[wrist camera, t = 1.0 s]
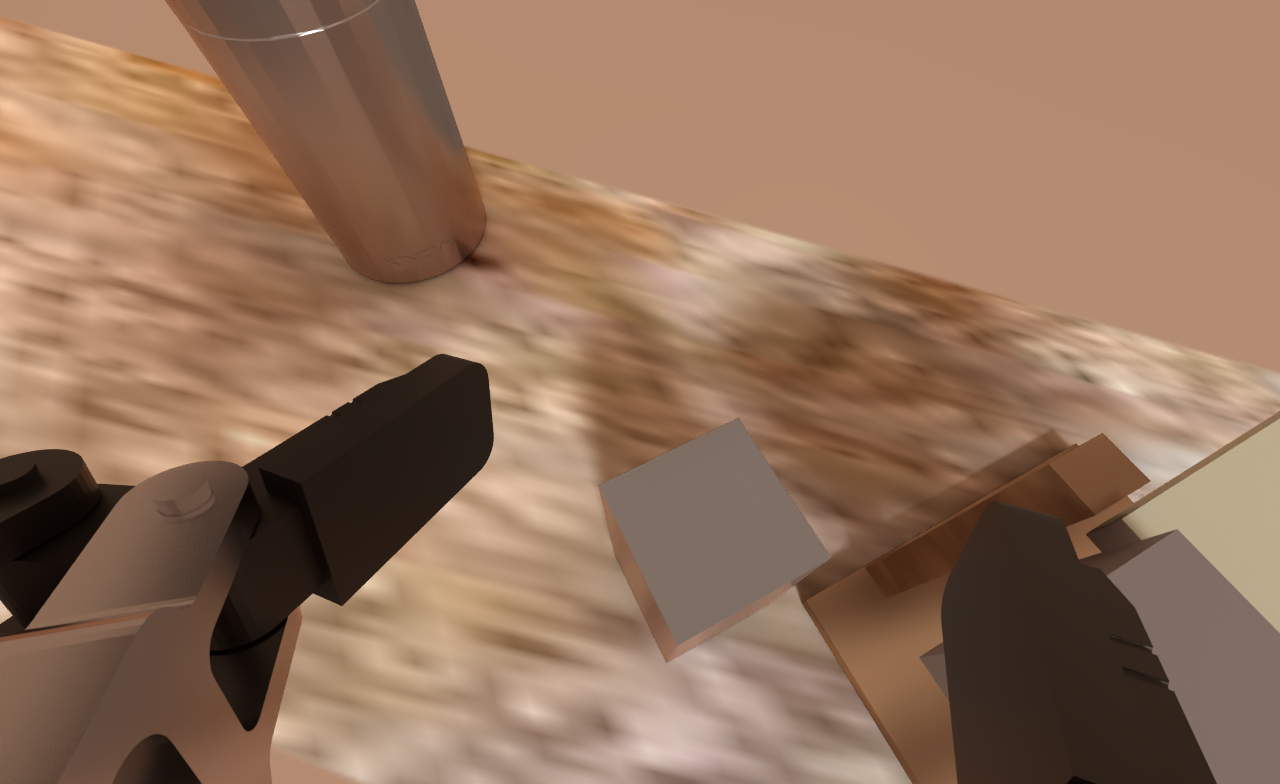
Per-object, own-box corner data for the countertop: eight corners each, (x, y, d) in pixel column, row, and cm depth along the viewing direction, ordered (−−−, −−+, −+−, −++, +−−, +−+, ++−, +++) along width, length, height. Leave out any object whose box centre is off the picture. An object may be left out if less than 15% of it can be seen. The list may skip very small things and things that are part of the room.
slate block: (615, 556, 26) (598, 485, 17) (708, 508, 27) (738, 417, 18) (666, 663, 24) (677, 645, 15) (765, 606, 25) (831, 558, 16)
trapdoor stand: (801, 602, 25) (945, 518, 13) (1065, 449, 28) (1374, 269, 16) (1086, 1067, 18) (1968, 1818, 6) (1390, 791, 21) (2343, 917, 9)
